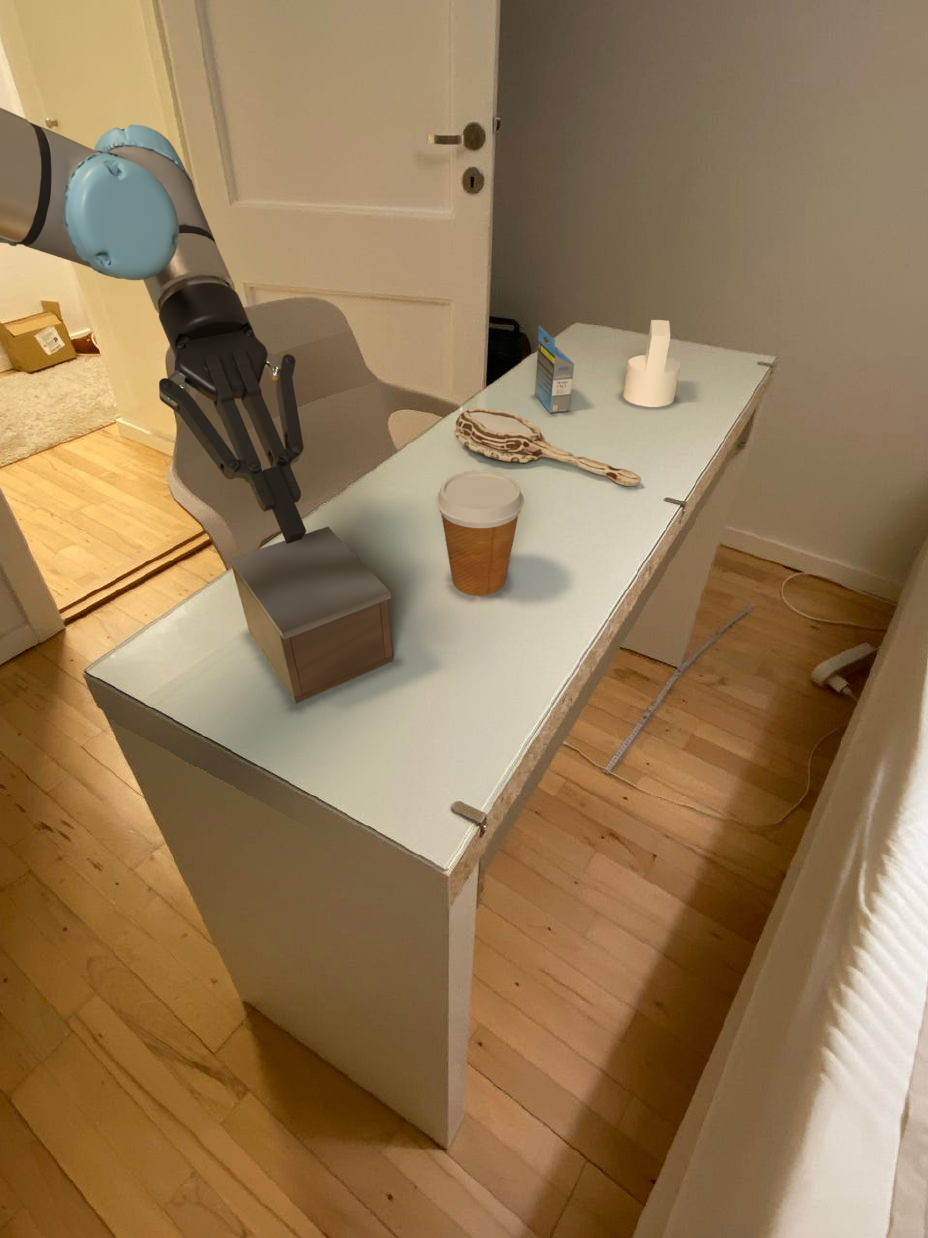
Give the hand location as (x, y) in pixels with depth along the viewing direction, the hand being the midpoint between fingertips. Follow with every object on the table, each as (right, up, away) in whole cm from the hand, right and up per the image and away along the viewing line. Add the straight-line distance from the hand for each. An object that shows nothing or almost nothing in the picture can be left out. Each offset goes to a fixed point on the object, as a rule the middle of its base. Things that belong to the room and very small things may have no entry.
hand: (296, 537), depth 63 cm
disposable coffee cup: (+17, -3, +17) cm, 25 cm away
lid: (+1, -4, +2) cm, 5 cm away
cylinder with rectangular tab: (+49, +32, +60) cm, 84 cm away
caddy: (0, -10, +8) cm, 13 cm away
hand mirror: (+28, +16, +40) cm, 51 cm away
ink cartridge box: (+31, +31, +58) cm, 73 cm away
